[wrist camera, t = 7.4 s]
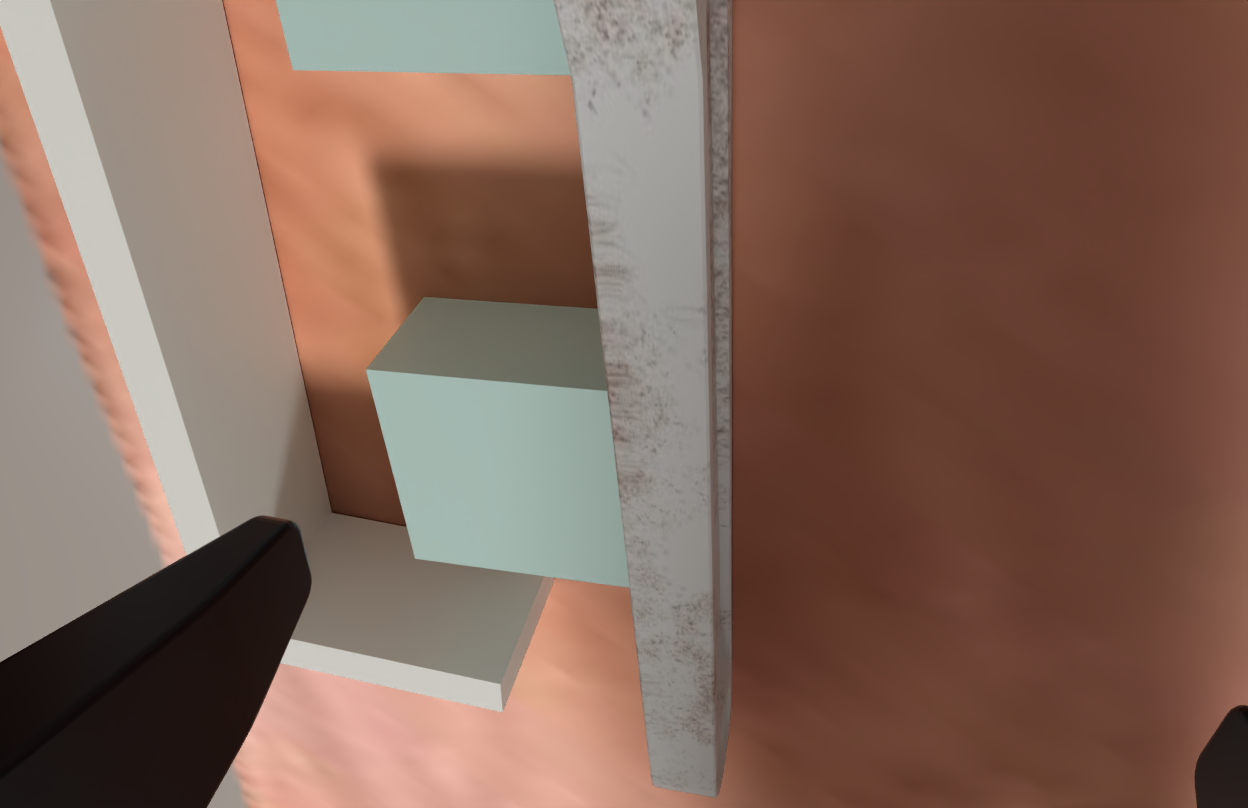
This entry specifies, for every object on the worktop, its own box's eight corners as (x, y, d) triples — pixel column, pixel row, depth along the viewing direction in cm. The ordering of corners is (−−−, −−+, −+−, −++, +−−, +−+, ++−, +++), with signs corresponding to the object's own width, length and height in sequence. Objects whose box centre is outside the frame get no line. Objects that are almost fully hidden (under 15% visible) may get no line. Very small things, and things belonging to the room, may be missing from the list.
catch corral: (519, -838, 11) (359, -1067, 7) (553, 582, 24) (502, 712, 21) (-22, -805, 12) (-358, -991, 9) (303, 533, 25) (219, 649, 22)
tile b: (657, 307, 19) (624, 392, 17) (665, 494, 22) (637, 588, 20) (427, 291, 20) (366, 369, 18) (464, 471, 23) (414, 558, 21)
